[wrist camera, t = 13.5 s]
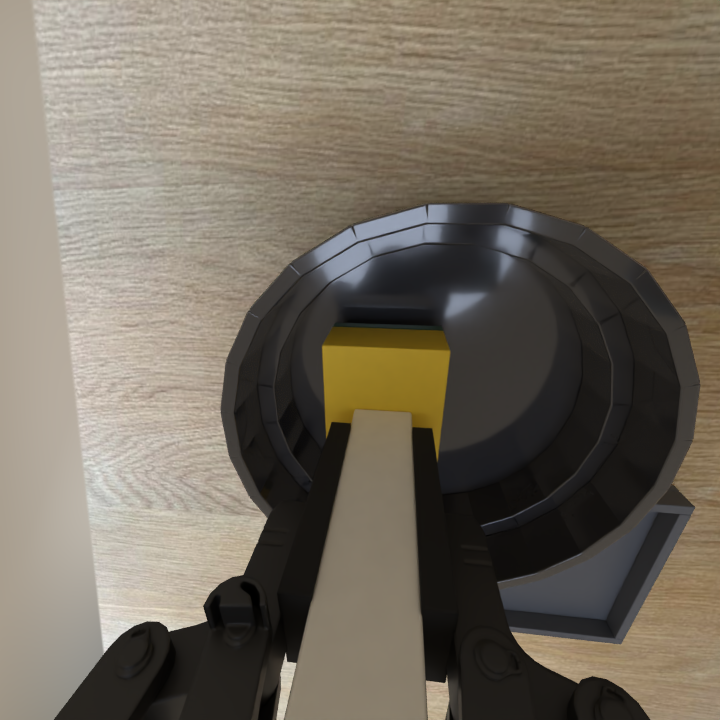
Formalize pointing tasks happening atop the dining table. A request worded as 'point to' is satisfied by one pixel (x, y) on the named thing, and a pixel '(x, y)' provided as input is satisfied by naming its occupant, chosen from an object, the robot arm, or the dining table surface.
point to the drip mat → (601, 582)
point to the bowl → (484, 373)
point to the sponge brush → (372, 529)
